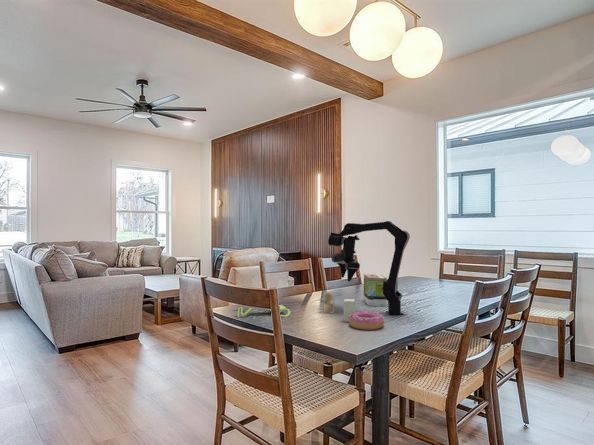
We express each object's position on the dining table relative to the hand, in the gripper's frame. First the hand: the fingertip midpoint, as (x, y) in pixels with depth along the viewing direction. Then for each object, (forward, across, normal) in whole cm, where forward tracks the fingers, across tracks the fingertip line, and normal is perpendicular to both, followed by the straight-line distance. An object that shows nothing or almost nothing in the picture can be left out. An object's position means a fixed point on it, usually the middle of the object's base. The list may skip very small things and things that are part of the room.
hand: (345, 279), depth 188 cm
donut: (+13, +32, -1) cm, 35 cm away
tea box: (+14, -8, +21) cm, 27 cm away
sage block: (+14, +23, -5) cm, 27 cm away
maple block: (+15, +5, -9) cm, 18 cm away
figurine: (+19, 0, -40) cm, 45 cm away
